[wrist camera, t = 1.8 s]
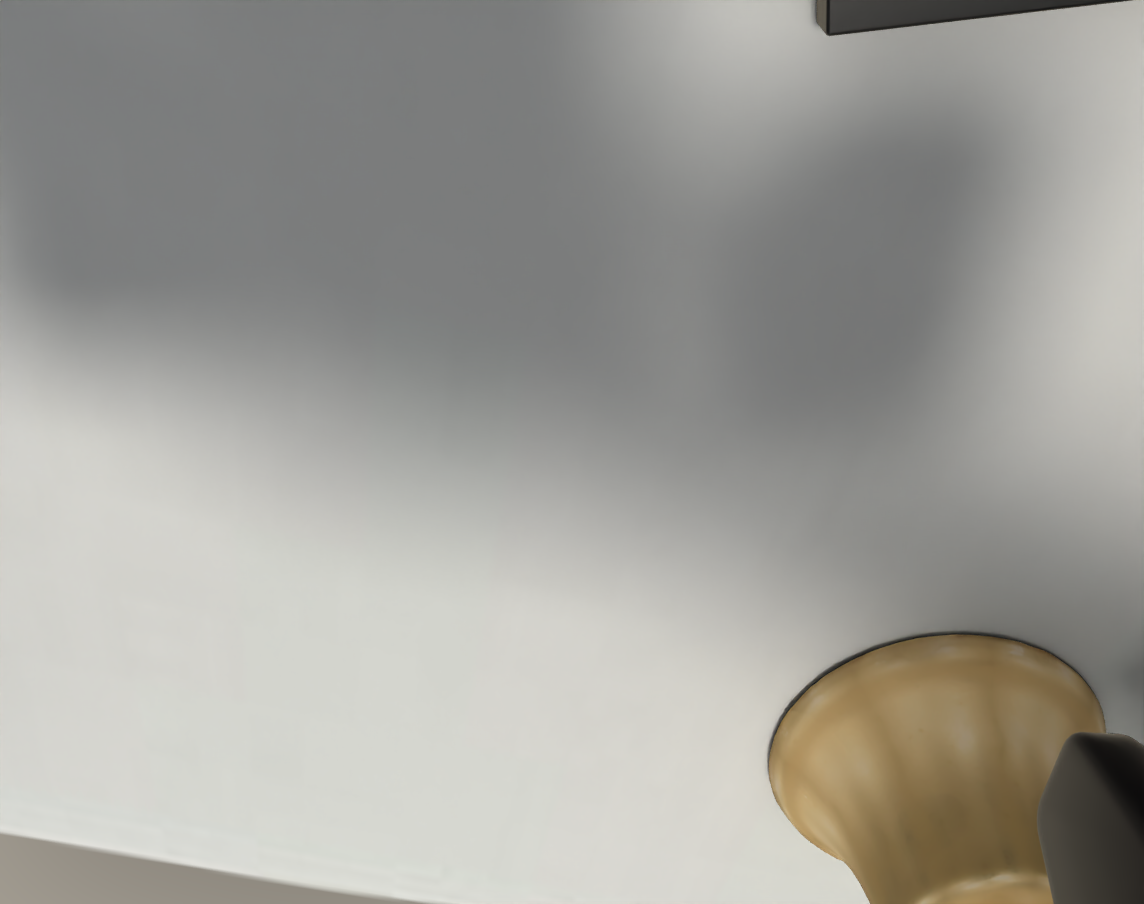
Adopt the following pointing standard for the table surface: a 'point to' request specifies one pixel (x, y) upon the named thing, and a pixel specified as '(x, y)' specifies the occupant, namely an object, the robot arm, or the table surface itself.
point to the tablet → (924, 12)
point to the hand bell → (932, 766)
